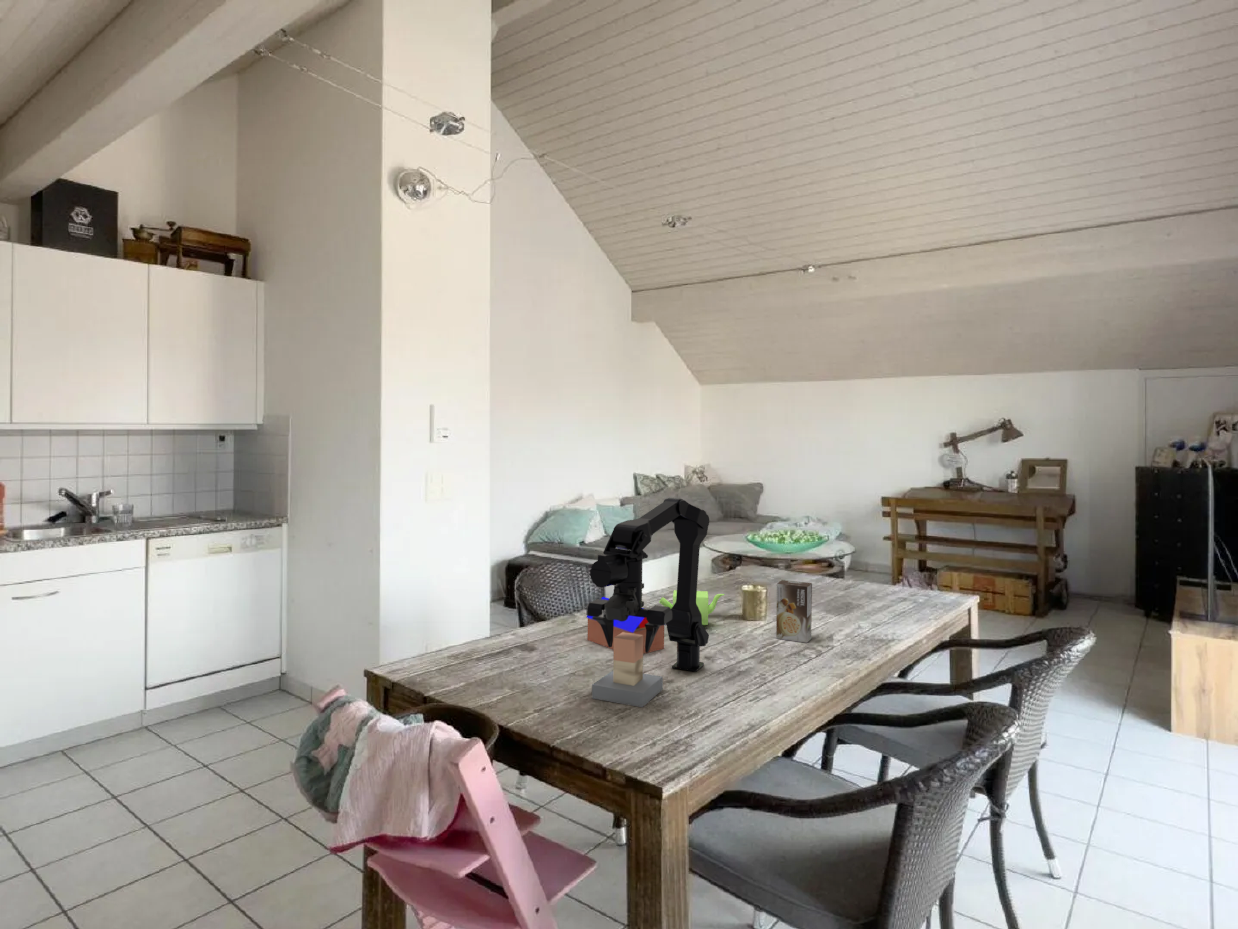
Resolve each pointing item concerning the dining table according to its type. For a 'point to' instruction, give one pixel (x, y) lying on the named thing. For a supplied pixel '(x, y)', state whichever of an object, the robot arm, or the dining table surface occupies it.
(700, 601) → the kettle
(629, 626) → the house
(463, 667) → the dining table surface
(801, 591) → the coffee box
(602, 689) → the slate board
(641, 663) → the birch cube
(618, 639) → the terracotta cube
